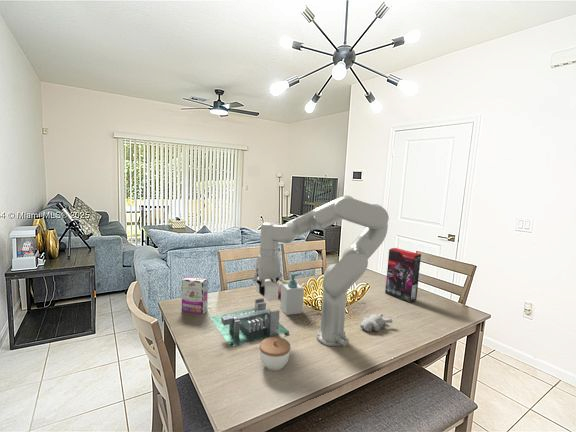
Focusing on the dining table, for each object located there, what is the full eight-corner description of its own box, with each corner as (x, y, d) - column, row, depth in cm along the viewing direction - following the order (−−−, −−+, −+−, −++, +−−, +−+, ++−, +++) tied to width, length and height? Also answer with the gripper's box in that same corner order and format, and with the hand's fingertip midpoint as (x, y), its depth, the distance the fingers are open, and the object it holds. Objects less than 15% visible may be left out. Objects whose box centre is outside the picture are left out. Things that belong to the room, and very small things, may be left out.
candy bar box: (207, 311, 145) (208, 278, 143) (202, 316, 140) (203, 282, 138) (187, 308, 148) (187, 275, 146) (181, 312, 143) (181, 279, 141)
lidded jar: (288, 356, 112) (290, 332, 111) (289, 375, 101) (291, 349, 100) (259, 356, 112) (260, 332, 110) (257, 374, 101) (258, 348, 100)
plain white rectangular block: (277, 299, 126) (278, 285, 125) (269, 301, 123) (269, 287, 123) (264, 289, 136) (264, 276, 135) (256, 290, 134) (256, 277, 133)
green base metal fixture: (289, 333, 128) (290, 309, 127) (230, 349, 115) (231, 322, 113) (260, 308, 151) (261, 287, 150) (209, 319, 138) (209, 296, 136)
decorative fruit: (291, 295, 171) (292, 277, 170) (284, 299, 164) (284, 281, 163) (278, 291, 176) (278, 274, 174) (269, 295, 169) (270, 278, 168)
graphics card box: (383, 293, 181) (388, 248, 177) (390, 291, 185) (395, 247, 181) (410, 303, 167) (415, 255, 164) (417, 300, 171) (422, 253, 168)
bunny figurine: (355, 318, 138) (378, 308, 145) (355, 328, 138) (378, 318, 146) (371, 327, 130) (394, 316, 137) (371, 338, 131) (394, 326, 138)
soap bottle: (302, 313, 149) (305, 275, 146) (286, 315, 146) (288, 276, 143) (296, 305, 157) (298, 270, 154) (280, 307, 154) (281, 271, 151)
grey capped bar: (272, 315, 130) (272, 310, 130) (224, 326, 119) (224, 320, 119) (268, 312, 133) (268, 306, 133) (221, 322, 122) (221, 316, 122)
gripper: (281, 248, 135) (279, 287, 137) (246, 251, 126) (245, 293, 128) (290, 252, 128) (288, 293, 131) (254, 255, 120) (252, 300, 122)
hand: (266, 293), depth 129 cm, fingers closed on plain white rectangular block, 4 cm apart
